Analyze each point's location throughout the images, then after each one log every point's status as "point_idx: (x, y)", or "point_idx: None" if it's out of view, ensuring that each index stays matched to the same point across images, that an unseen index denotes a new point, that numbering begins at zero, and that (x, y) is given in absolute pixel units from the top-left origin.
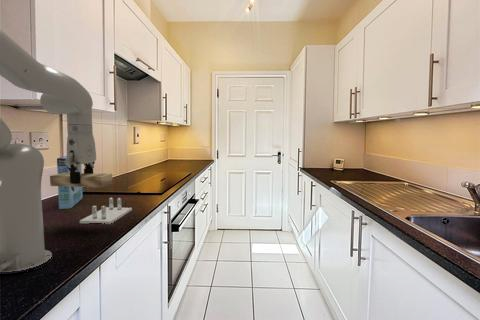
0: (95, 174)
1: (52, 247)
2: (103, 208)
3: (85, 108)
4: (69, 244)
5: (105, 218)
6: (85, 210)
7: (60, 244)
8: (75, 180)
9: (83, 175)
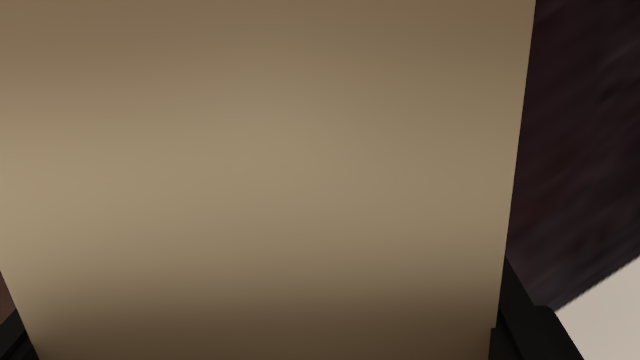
0: (133, 184)
1: (596, 91)
2: None
3: None
4: (558, 25)
5: None
6: (3, 312)
7: (555, 78)
8: (552, 312)
9: (350, 339)
